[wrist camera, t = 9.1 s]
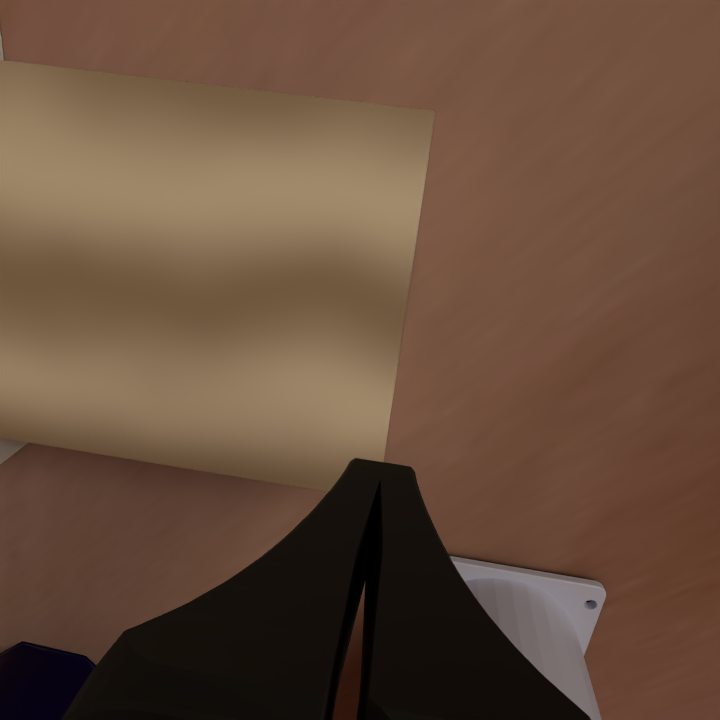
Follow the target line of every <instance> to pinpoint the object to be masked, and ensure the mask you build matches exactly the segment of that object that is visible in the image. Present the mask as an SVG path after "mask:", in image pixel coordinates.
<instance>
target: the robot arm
mask: <svg viewBox="0 0 720 720" xmlns="http://www.w3.org/2000/svg"><path fill="white" fill-rule="evenodd" d="M365 579H366V580H365ZM364 583H365V601H364V622H363V645H362V667H361V683H360V695H359V705H358V712H357V719H356V720H602V719H601V715H600V712H599V709H598V705H597V702H596V698H595V695H594V691H593V688H592V684H591V681H590V677H589V674H588V670H587V667H586V663H585V660H584V654H585V651H586V649H587V646H588V643H589V641H590V638H591V635H592V633H593V630H594V627H595V625H596V622H597V619H598V616H599V614H600V611H601V608H602V606H603V603H604V600H605V598H606V592H605V589H604V587H603V585H602V584H601V583H600V582H597V581H594V580H588V579H582V578H576V577H570V576H565V575H559V574H553V573H547V572H541V571H535V570H530V569H524V568H518V567H512V566H506V565H500V564H494V563H489V562H483V561H477V560H471V559H465V558H459V557H454V556H449V555H448V553H447V551H446V549H445V547H444V545H443V544H442V542H441V540H440V538H439V536H438V534H437V531H436V529H435V527H434V525H433V523H432V520H431V518H430V516H429V514H428V511H427V509H426V507H425V504H424V501H423V499H422V496H421V493H420V490H419V487H418V484H417V480H416V476H415V472H414V470H413V469H412V468H411V467H409V466H403V465H397V464H391V463H385V462H378V461H372V460H366V459H360V458H354V459H353V460H351V461H350V462H349V464H348V466H347V468H346V469H345V471H344V472H343V474H342V475H341V477H340V478H339V479H338V481H337V482H336V483H335V485H334V486H333V487H332V489H331V490H330V491H329V492H328V493H327V494H326V496H325V497H324V498H323V499H322V500H321V501H320V503H319V504H318V505H317V506H316V507H315V508H314V509H313V510H312V512H311V513H310V514H309V515H308V516H307V517H306V518H305V519H303V520H302V521H301V522H300V523H299V524H298V525H297V526H296V527H295V528H294V529H293V530H292V531H291V532H290V533H289V534H288V535H287V536H286V537H285V538H284V539H282V540H281V541H280V542H279V543H278V544H277V545H275V546H274V547H273V548H272V549H270V550H269V551H268V552H267V553H265V554H264V555H263V556H262V557H260V558H259V559H258V560H256V561H255V562H253V563H252V564H251V565H249V566H248V567H246V568H245V569H244V570H242V571H241V572H239V573H238V574H236V575H235V576H233V577H232V578H230V579H229V580H227V581H226V582H224V583H222V584H221V585H219V586H217V587H215V588H214V589H212V590H210V591H208V592H207V593H205V594H203V595H201V596H199V597H198V598H196V599H194V600H192V601H191V602H189V603H187V604H185V605H183V606H181V607H179V608H177V609H174V610H172V611H170V612H168V613H165V614H163V615H161V616H158V617H156V618H154V619H152V620H149V621H147V622H145V623H142V624H140V625H138V626H135V627H133V628H130V629H128V630H126V631H124V632H123V633H122V635H121V636H120V637H119V638H118V639H117V641H116V642H115V643H114V644H113V646H112V647H111V648H110V649H109V650H108V652H107V653H106V654H105V655H104V657H103V658H102V659H101V660H100V662H99V663H98V664H97V665H96V667H95V668H94V669H93V671H92V672H91V673H90V675H89V676H88V678H87V679H86V681H85V682H84V684H83V685H82V687H81V689H80V690H79V692H78V693H77V695H76V697H75V698H74V700H73V701H72V703H71V705H70V706H69V708H68V710H67V711H66V713H65V714H64V716H63V718H62V719H61V720H332V719H333V713H334V707H335V701H336V695H337V691H338V686H339V681H340V677H341V672H342V669H343V665H344V661H345V657H346V653H347V649H348V645H349V641H350V638H351V634H352V630H353V626H354V622H355V618H356V614H357V610H358V607H359V603H360V599H361V595H362V591H363V587H364ZM588 600H593V601H592V602H586V601H588Z"/></svg>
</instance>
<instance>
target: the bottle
mask: <svg viewBox="0 0 720 720" xmlns="http://www.w3.org/2000/svg"><path fill="white" fill-rule="evenodd" d="M95 667H96V665H95V664H94V663H93V662H92V661H90V660H89V659H88V658H87V657H86V656H83V655H79V654H74V653H70V652H66V651H61V650H57V649H53V648H48V647H44V646H40V645H36V644H31V643H27V642H23V641H22V642H20V643H19V644H17V645H15V646H13V647H11V648H10V649H8V650H6V651H4V652H2V653H1V654H0V720H61V719H62V718H63V716H64V714H65V713H66V711H67V710H68V708H69V706H70V705H71V703H72V701H73V700H74V698H75V697H76V695H77V693H78V692H79V690H80V689H81V687H82V685H83V684H84V682H85V681H86V679H87V678H88V676H89V675H90V673H91V672H92V671H93V669H94V668H95Z"/></svg>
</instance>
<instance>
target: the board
mask: <svg viewBox="0 0 720 720" xmlns="http://www.w3.org/2000/svg"><path fill="white" fill-rule="evenodd" d="M434 118H435V111H431V110H423V109H414V108H406V107H397V106H389V105H380V104H372V103H363V102H354V101H346V100H337V99H329V98H320V97H312V96H303V95H295V94H286V93H278V92H269V91H260V90H252V89H243V88H235V87H226V86H218V85H209V84H201V83H192V82H184V81H175V80H166V79H158V78H149V77H141V76H132V75H124V74H115V73H107V72H98V71H90V70H81V69H72V68H64V67H55V66H47V65H38V64H30V63H21V62H13V61H4V60H0V438H5V439H11V440H17V441H23V442H29V443H35V444H41V445H47V446H53V447H59V448H65V449H71V450H77V451H83V452H89V453H95V454H101V455H107V456H113V457H119V458H125V459H131V460H137V461H143V462H149V463H155V464H161V465H167V466H174V467H180V468H186V469H192V470H198V471H204V472H210V473H216V474H222V475H228V476H234V477H240V478H246V479H252V480H258V481H264V482H270V483H276V484H282V485H288V486H294V487H300V488H306V489H312V490H318V491H324V492H329V491H330V490H331V489H332V487H333V486H334V485H335V483H336V482H337V481H338V479H339V478H340V477H341V475H342V474H343V472H344V471H345V469H346V468H347V466H348V464H349V462H350V461H351V460H353V459H354V458H360V459H366V460H372V461H378V462H383V461H384V454H385V447H386V441H387V434H388V427H389V420H390V414H391V407H392V400H393V394H394V387H395V380H396V373H397V367H398V360H399V353H400V347H401V340H402V333H403V326H404V320H405V313H406V306H407V299H408V293H409V286H410V279H411V273H412V266H413V259H414V252H415V246H416V239H417V232H418V226H419V219H420V212H421V205H422V199H423V192H424V185H425V178H426V172H427V165H428V158H429V152H430V145H431V138H432V131H433V125H434Z"/></svg>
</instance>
